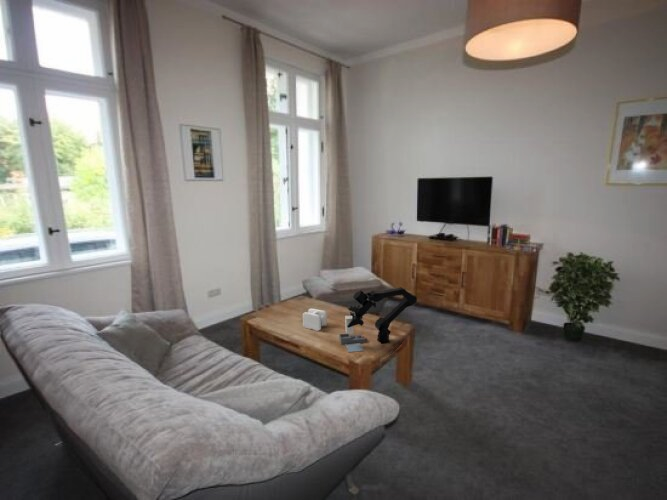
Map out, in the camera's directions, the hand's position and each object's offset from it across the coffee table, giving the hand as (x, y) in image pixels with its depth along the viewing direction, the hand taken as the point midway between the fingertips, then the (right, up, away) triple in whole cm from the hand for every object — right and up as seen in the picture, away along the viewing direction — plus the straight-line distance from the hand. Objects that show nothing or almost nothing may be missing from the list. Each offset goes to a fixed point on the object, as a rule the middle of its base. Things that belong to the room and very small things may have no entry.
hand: (347, 325), depth 219 cm
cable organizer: (-22, -8, +30) cm, 38 cm away
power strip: (+4, -12, +8) cm, 15 cm away
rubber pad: (+4, -14, -1) cm, 15 cm away
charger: (+1, -4, +1) cm, 5 cm away
